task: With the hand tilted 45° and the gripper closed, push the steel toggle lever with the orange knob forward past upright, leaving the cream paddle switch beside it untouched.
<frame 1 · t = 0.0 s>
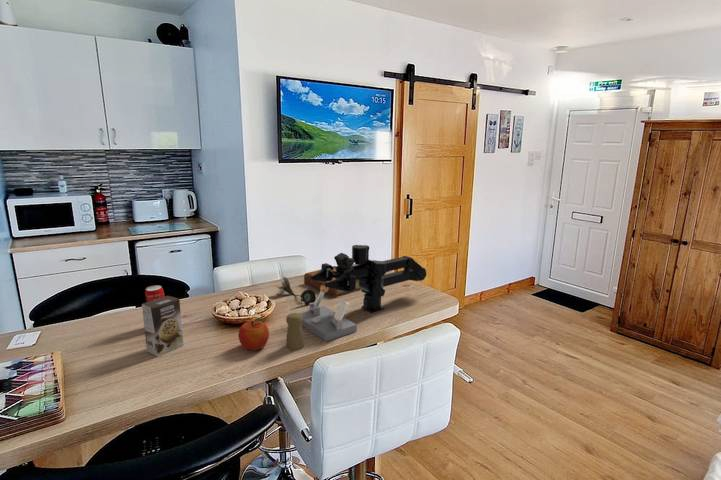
hand: (318, 281, 145), 17 cm above the table, tool horizontal, fingers open, 9 cm apart
cream paddle switch: (339, 313, 142), point 7 cm above the table, hinge at -28.0°
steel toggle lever: (319, 298, 152), point 8 cm above the table, hinge at -28.0°
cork: (295, 346, 133), on the table
fruit: (254, 347, 132), on the table
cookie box: (165, 348, 130), on the table
beverage can: (159, 327, 145), on the table
artificial flower: (292, 298, 174), on the table
diary: (335, 287, 189), on the table
switch panel: (324, 325, 148), on the table
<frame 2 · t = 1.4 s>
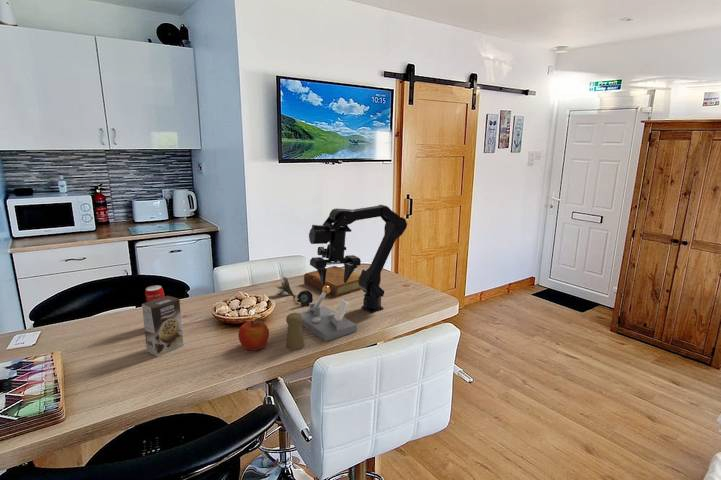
hand: (334, 283, 153), 13 cm above the table, tool pointing down, fingers open, 9 cm apart
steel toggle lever: (320, 298, 153), point 8 cm above the table, hinge at -34.8°
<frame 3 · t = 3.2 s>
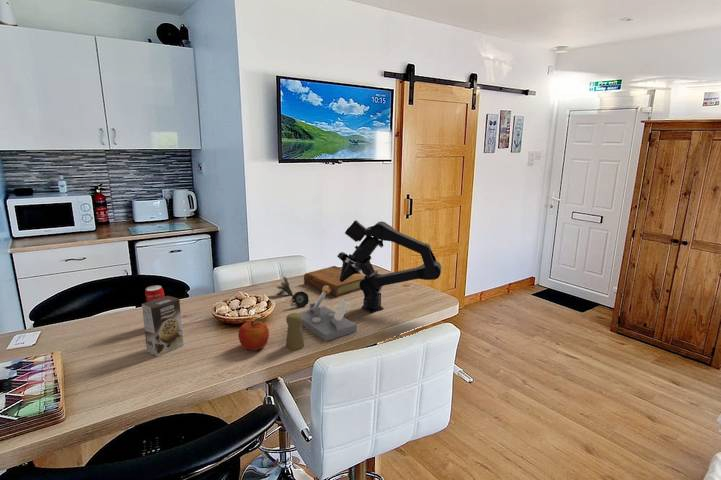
hand: (340, 281, 155), 13 cm above the table, tool tilted 45°, fingers closed
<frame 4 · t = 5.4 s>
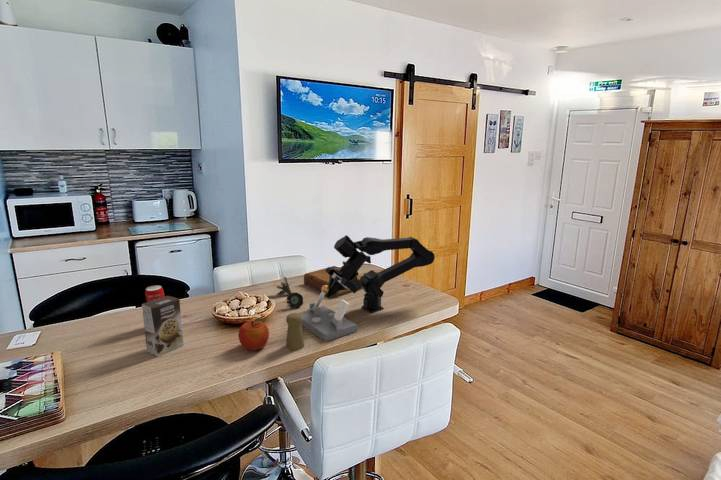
hand: (326, 296, 154), 8 cm above the table, tool tilted 45°, fingers closed, pressing on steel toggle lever
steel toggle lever: (320, 298, 152), point 8 cm above the table, hinge at -31.5°, touching gripper
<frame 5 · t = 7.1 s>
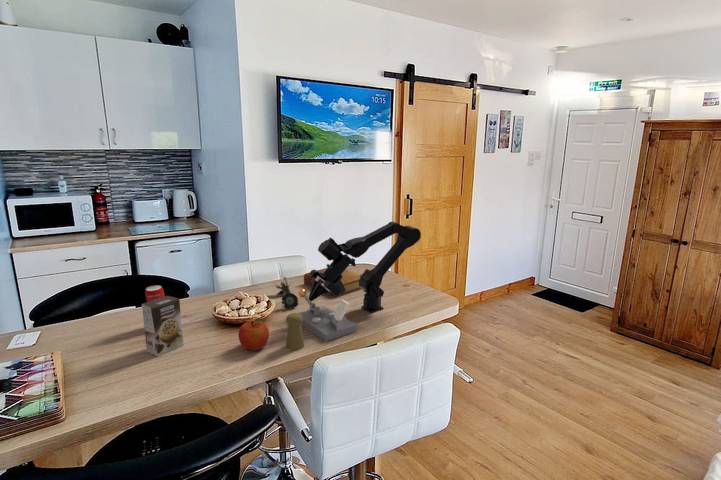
hand: (309, 300, 151), 8 cm above the table, tool tilted 45°, fingers closed, pressing on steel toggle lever
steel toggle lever: (308, 300, 150), point 8 cm above the table, hinge at 33.4°, touching gripper
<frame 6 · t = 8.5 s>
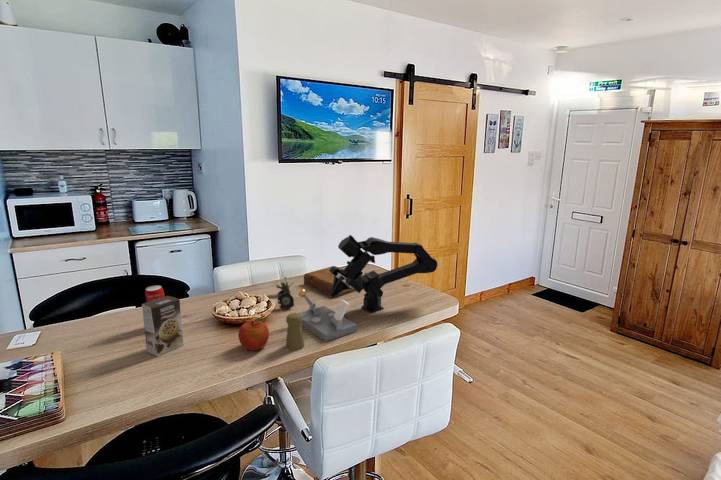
hand: (331, 296, 155), 8 cm above the table, tool tilted 45°, fingers closed
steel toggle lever: (308, 300, 150), point 8 cm above the table, hinge at 33.5°
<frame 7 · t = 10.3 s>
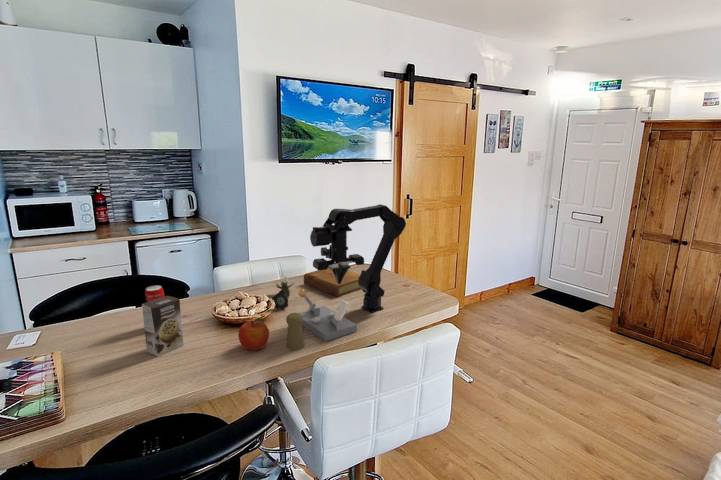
hand: (338, 283, 153), 13 cm above the table, tool pointing down, fingers closed
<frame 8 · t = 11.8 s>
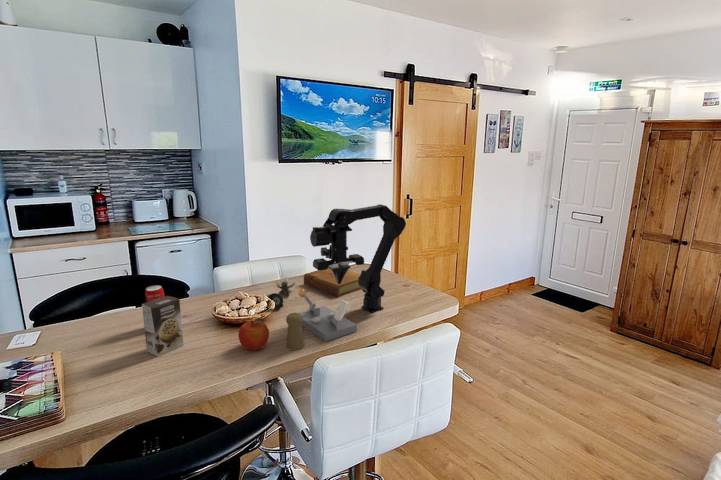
hand: (338, 283, 153), 13 cm above the table, tool pointing down, fingers closed
at the end: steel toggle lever at +34° (first picture: -28°); cream paddle switch at -28° (first picture: -28°) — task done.
